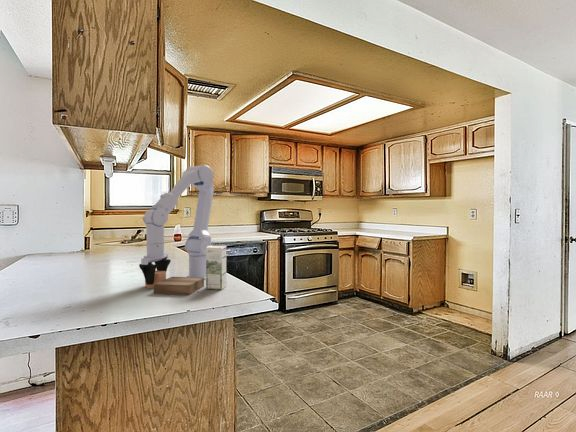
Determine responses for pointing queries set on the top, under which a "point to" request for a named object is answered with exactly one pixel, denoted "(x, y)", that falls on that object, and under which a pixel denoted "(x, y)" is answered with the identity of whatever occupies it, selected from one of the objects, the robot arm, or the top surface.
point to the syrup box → (216, 267)
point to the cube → (157, 278)
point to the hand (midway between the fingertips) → (155, 281)
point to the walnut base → (179, 285)
